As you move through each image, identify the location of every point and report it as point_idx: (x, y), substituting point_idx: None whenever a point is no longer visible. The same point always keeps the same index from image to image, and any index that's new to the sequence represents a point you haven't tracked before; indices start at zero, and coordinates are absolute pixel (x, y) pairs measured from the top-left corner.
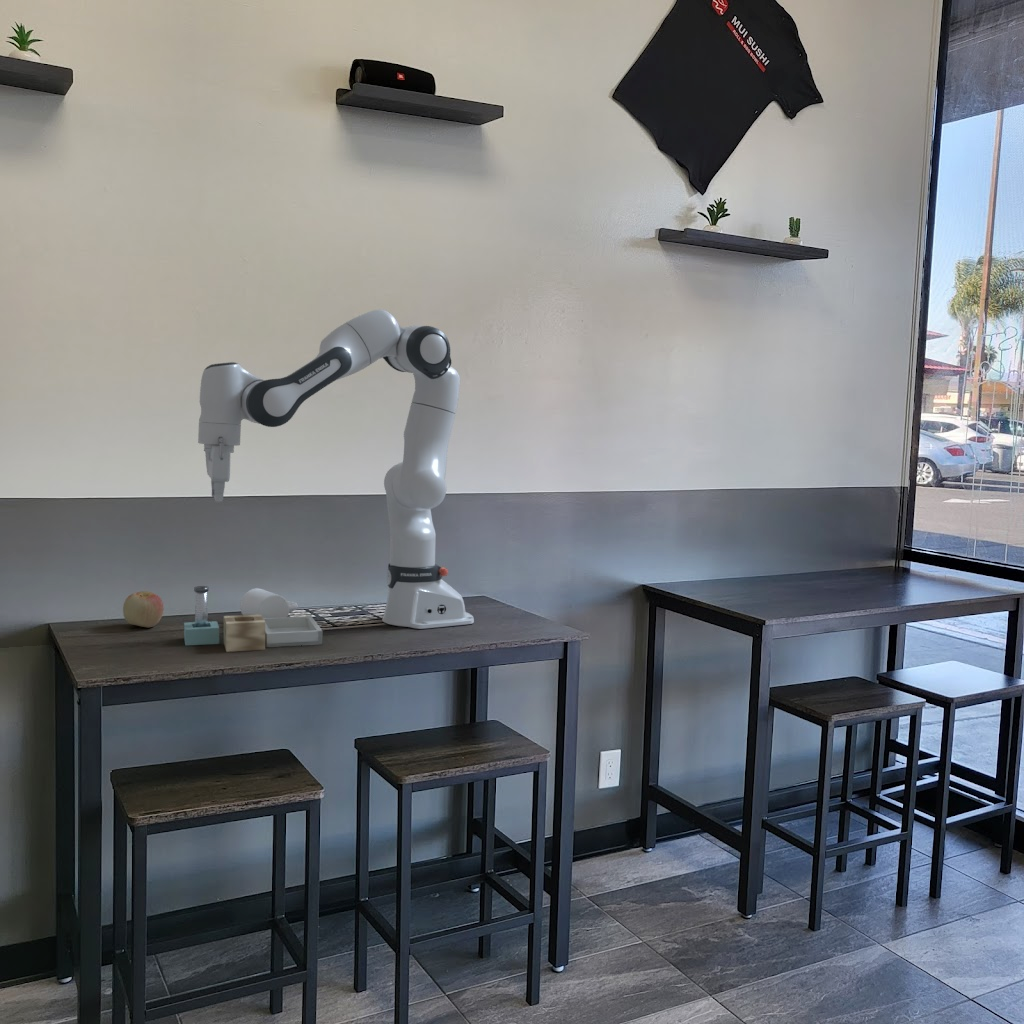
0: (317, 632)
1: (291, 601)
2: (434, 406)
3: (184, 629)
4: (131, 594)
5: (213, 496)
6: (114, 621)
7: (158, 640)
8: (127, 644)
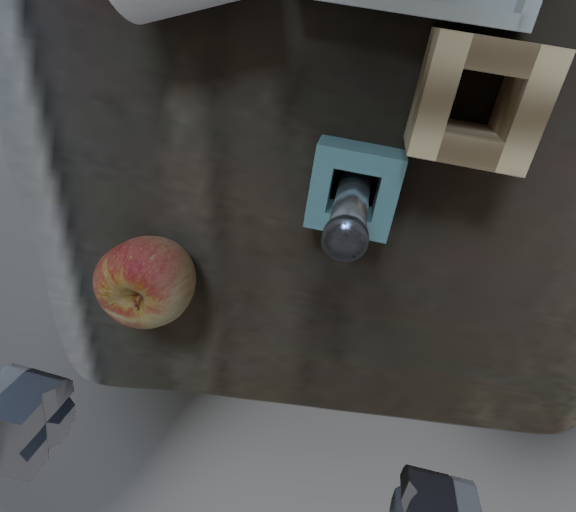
0: None
1: None
2: None
3: None
4: (126, 323)
5: (71, 423)
6: None
7: (308, 264)
8: (321, 322)
